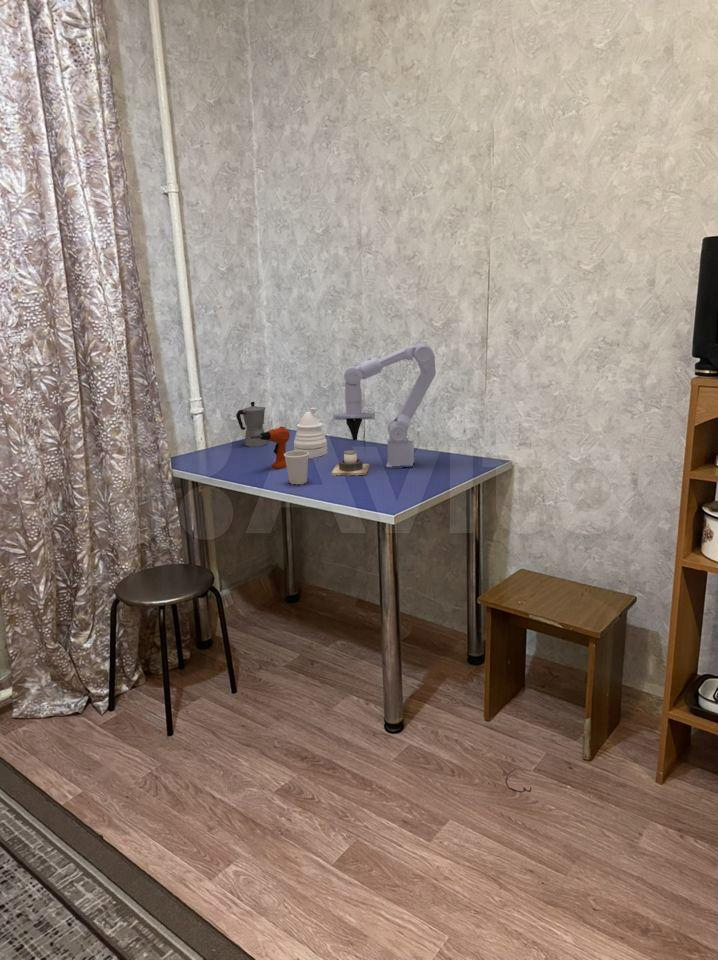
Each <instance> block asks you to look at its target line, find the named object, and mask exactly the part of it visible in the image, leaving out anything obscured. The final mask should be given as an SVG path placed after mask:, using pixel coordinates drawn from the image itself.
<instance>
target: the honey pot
mask: <svg viewBox="0 0 718 960" xmlns="http://www.w3.org/2000/svg"><path fill="white" fill-rule="evenodd" d="M309 410H310V411H307V412H305V413H304V414H303V415H302V417H301V419H300V421H299V423H298V424H296V427H297V429H296V432H295V438H294V440H293V451H297V450H301V451H307V452H309V455H308V459H314V458H313V457H318V456H322V455H324V454H326V453H327V454H328V443H327V442H328V440H327V438H326V435H325V434H324V433H325V432H324V431H323V428H322V427H323V426H324V424H323V422H320V421H319V420H318V418H317V416H316V415H315V414H316V413H317V411H318V408H317V407H310V409H309ZM318 458H319V457H318Z"/></svg>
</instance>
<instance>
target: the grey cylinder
mask: <svg viewBox="0 0 718 960" xmlns="http://www.w3.org/2000/svg"><path fill="white" fill-rule="evenodd" d="M357 452H358V451H357V450H354V449H353V450H352V449H350V450H344V451H343V459H344V463H347V464H352V463H357V459H358V455H357V454H358V453H357Z"/></svg>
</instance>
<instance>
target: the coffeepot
mask: <svg viewBox="0 0 718 960" xmlns="http://www.w3.org/2000/svg"><path fill="white" fill-rule="evenodd" d="M255 403H256V402H255V401H251V402H250V405H251V406H248V407H244V408H243V409H239V410H238V411H237V412H236V414H235V415H236V416H235V418H236V419H237V422H238V425H239V427H240V430H241V431H245V436H244V446H245V445H246V446H245V447H247V446H249V447H248V448H258V447H257V446H260V447H264V446H266V445H267V444H268V442H267V441H268V440H262V439H260V438H253V439H251V438H250V437H251V436H256V435H260V434H261V433H264V432H265V430H264V428H263V427H264V424H265V423H264V422H265V412H266V409H267V407H264V406H257V405H255ZM241 416H243V420H242V417H241ZM243 422H244V424H243ZM244 425H245V427H244ZM265 444H266V445H265ZM263 445H264V446H263Z"/></svg>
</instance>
